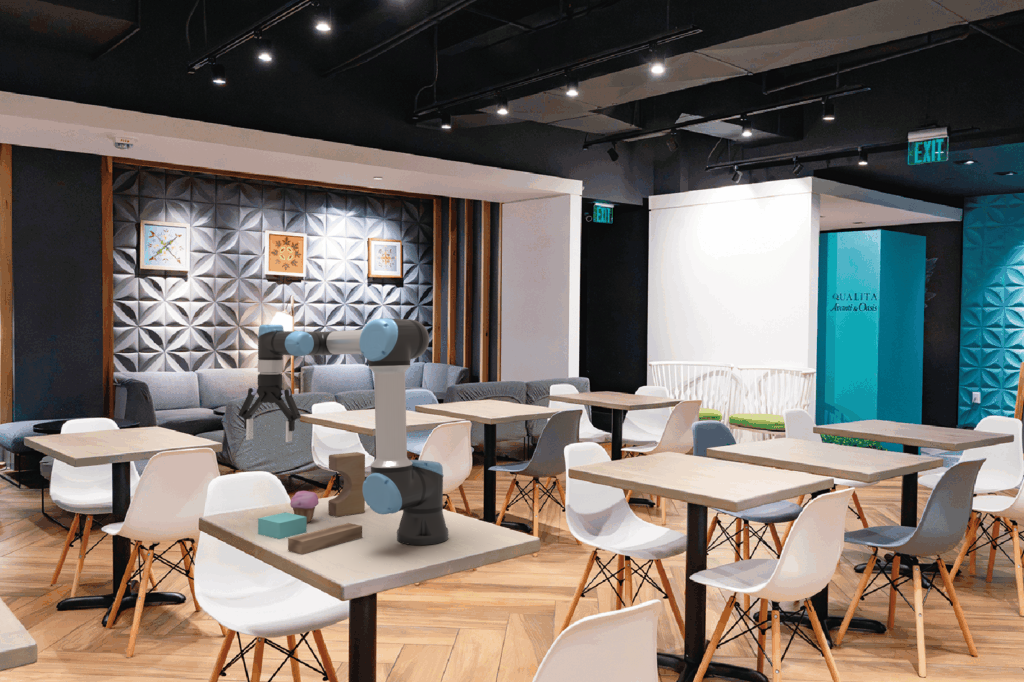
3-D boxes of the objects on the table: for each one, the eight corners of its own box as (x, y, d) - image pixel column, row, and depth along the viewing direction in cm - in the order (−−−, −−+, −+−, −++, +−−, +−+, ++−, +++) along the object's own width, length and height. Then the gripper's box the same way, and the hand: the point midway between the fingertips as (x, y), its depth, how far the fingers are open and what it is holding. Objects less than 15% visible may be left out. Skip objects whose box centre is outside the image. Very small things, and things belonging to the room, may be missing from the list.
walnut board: (362, 537, 224) (362, 525, 224) (302, 554, 207) (302, 541, 207) (348, 534, 228) (348, 522, 228) (288, 550, 210) (288, 538, 210)
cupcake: (294, 518, 247) (294, 488, 247) (320, 518, 248) (321, 488, 248) (287, 525, 238) (287, 493, 238) (314, 525, 239) (315, 493, 239)
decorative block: (334, 517, 249) (335, 456, 249) (327, 514, 254) (328, 454, 254) (365, 512, 256) (365, 453, 256) (357, 509, 261) (358, 451, 260)
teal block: (306, 533, 230) (306, 516, 230) (279, 540, 222) (279, 523, 222) (285, 528, 236) (285, 512, 236) (258, 534, 228) (258, 518, 228)
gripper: (312, 373, 240) (311, 440, 240) (241, 371, 245) (240, 436, 246) (300, 375, 233) (299, 444, 233) (227, 372, 238) (226, 440, 238)
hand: (269, 440), depth 239 cm, fingers open, 13 cm apart
